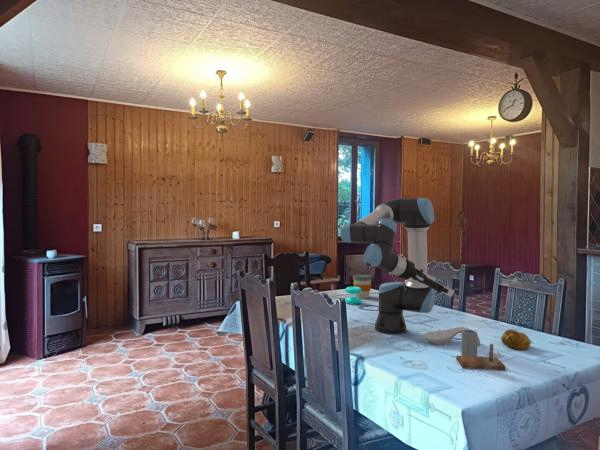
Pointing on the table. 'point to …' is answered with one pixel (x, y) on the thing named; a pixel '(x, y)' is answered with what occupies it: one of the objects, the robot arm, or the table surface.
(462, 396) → the table surface
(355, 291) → the donuts
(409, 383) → the table surface
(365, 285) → the reusable coffee cup
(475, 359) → the sleeve
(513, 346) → the bread roll
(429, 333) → the spoon rest
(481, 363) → the pin board
